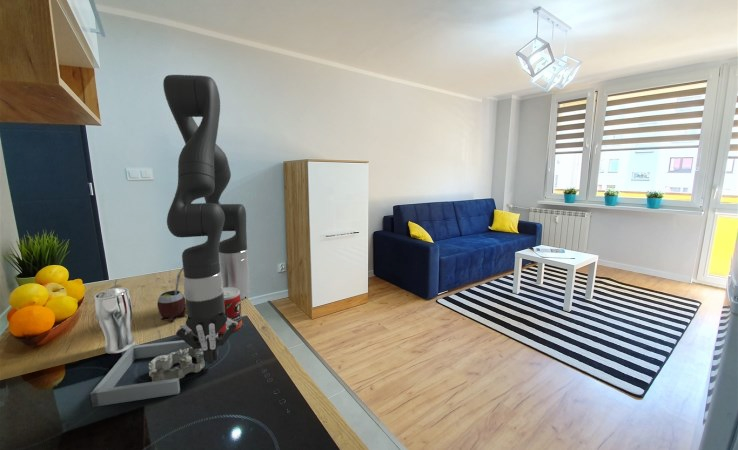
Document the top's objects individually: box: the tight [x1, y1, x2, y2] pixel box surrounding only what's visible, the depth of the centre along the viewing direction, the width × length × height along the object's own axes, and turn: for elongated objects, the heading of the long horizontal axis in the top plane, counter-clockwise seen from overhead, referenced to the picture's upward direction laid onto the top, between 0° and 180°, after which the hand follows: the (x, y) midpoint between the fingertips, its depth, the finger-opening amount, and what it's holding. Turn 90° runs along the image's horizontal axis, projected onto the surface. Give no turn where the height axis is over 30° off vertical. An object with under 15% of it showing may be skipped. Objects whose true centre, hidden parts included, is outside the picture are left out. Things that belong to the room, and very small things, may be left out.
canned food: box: [218, 287, 243, 335], centre depth 88 cm, size 8×8×11 cm
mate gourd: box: [157, 267, 186, 324], centre depth 93 cm, size 8×8×15 cm
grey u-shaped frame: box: [90, 339, 191, 408], centre depth 69 cm, size 16×15×3 cm
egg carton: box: [148, 347, 206, 382], centre depth 70 cm, size 11×8×4 cm
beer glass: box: [93, 287, 136, 355], centre depth 77 cm, size 7×7×15 cm
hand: (211, 361), depth 71 cm, fingers closed
